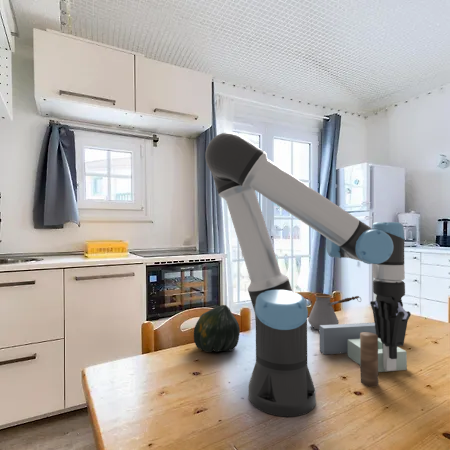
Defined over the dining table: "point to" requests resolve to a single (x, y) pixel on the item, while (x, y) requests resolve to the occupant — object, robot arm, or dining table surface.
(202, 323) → the squash
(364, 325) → the wall
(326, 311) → the coffee pot
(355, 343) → the socket block
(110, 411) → the dining table surface
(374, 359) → the dowel
